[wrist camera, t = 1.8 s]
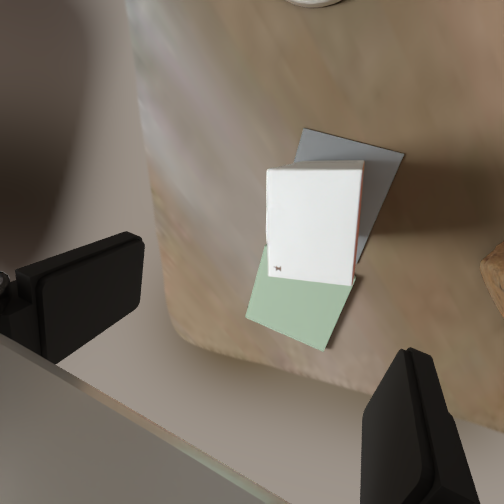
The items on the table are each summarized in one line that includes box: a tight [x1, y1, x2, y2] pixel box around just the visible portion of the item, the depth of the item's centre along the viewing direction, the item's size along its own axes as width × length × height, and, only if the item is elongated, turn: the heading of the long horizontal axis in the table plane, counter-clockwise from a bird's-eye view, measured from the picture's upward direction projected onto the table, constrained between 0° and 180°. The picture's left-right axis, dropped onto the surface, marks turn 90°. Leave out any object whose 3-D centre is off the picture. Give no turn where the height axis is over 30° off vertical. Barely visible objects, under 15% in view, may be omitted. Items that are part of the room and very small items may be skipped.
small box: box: [266, 160, 365, 286], centre depth 26 cm, size 8×6×13 cm
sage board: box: [246, 244, 356, 352], centre depth 37 cm, size 11×11×1 cm
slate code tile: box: [294, 128, 404, 264], centre depth 31 cm, size 12×10×1 cm
